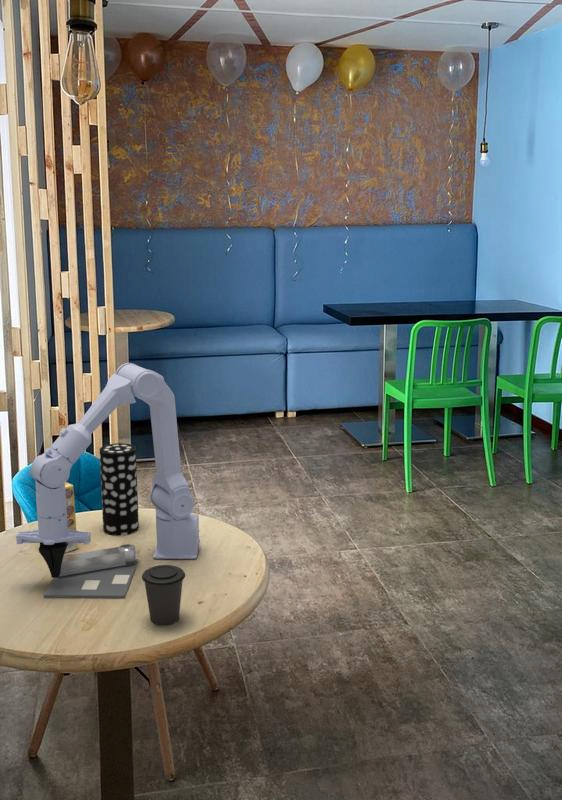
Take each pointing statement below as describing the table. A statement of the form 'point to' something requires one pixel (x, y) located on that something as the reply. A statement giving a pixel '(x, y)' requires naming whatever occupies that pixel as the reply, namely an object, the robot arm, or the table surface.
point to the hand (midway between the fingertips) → (56, 575)
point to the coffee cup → (163, 593)
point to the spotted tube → (119, 489)
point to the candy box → (70, 513)
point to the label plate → (93, 583)
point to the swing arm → (98, 560)
